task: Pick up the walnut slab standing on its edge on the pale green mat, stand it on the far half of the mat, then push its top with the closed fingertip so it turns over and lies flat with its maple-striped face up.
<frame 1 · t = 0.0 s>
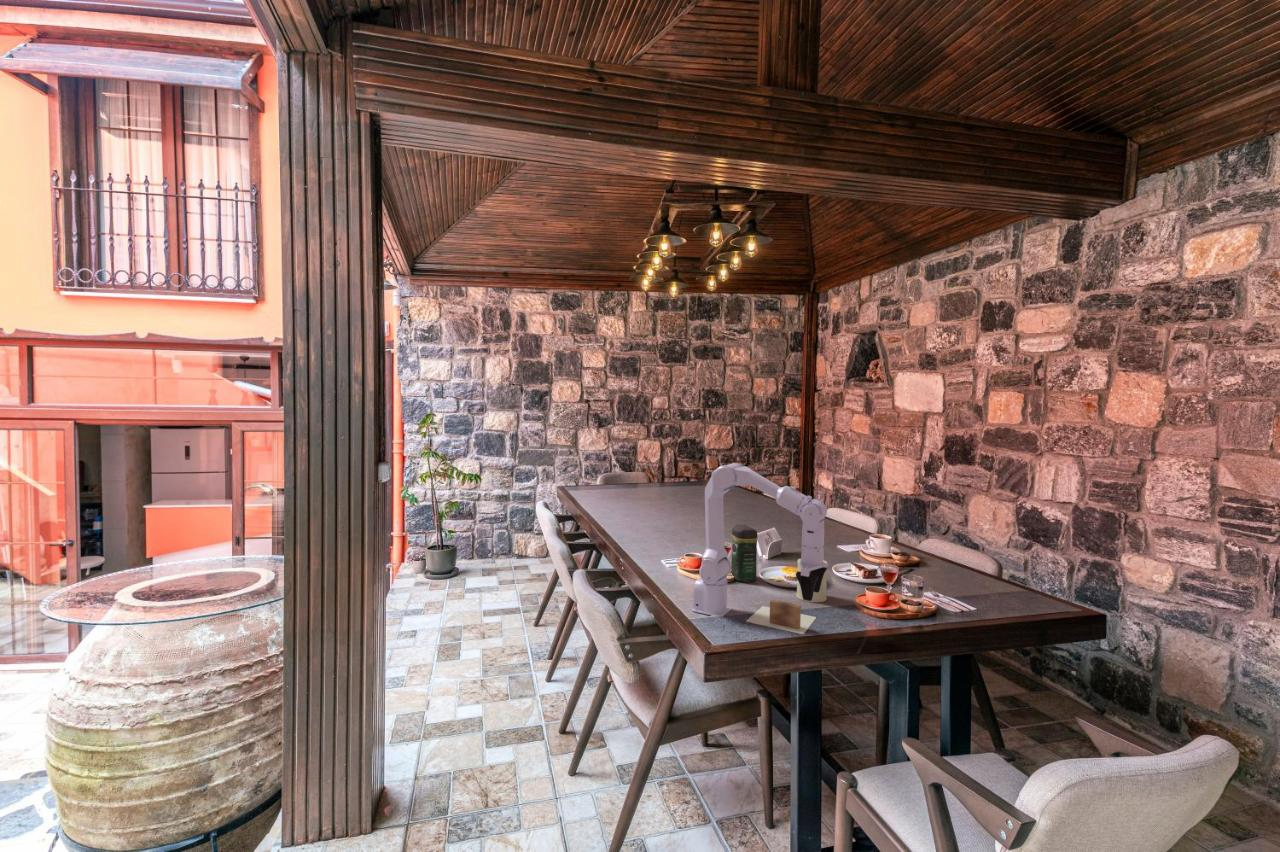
hand: (811, 595, 153), 10 cm above the table, tool pointing down, fingers open, 7 cm apart
walnut slab: (784, 624, 157), point 1 cm above the table, touching mat
can: (811, 598, 181), on the table
coffee jar: (743, 579, 199), on the table
mat: (781, 621, 161), on the table
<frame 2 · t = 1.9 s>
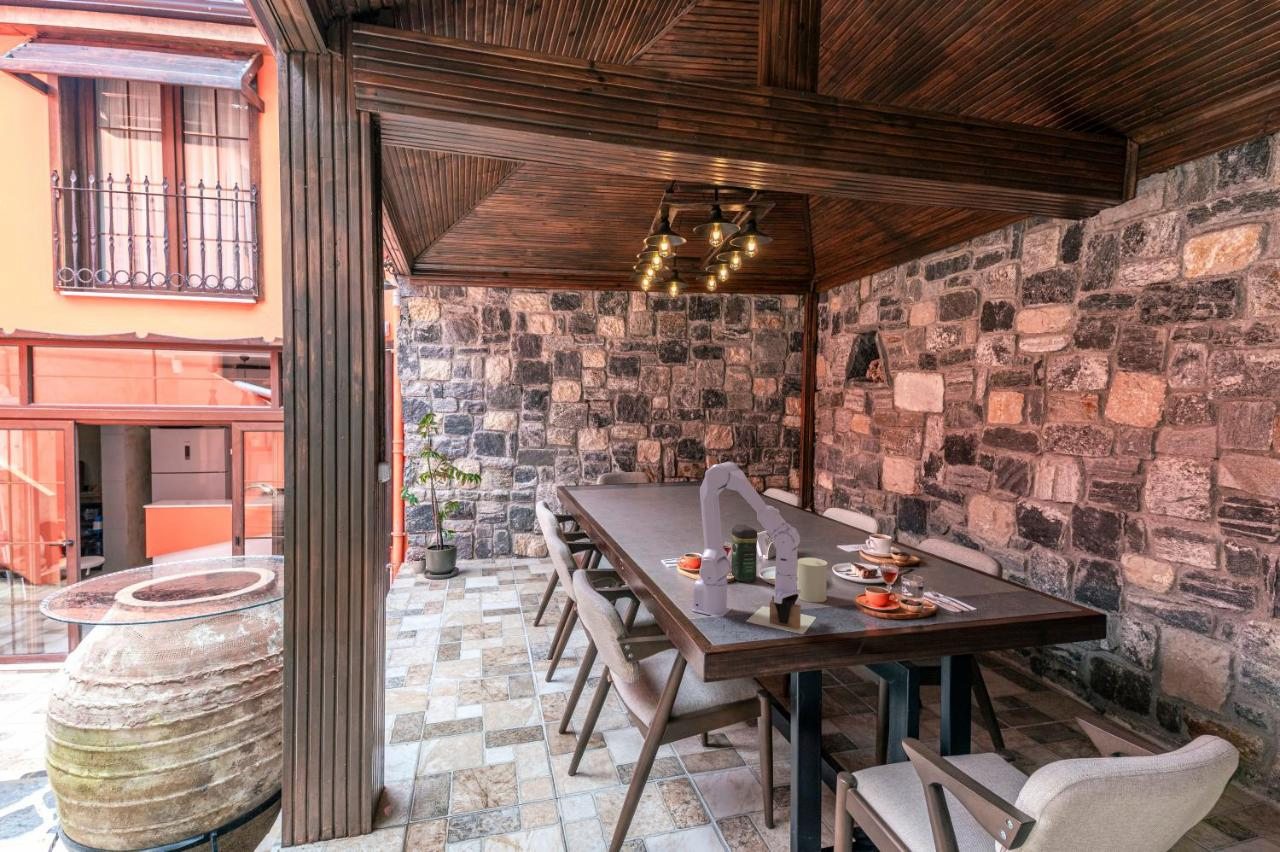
hand: (784, 621, 157), 2 cm above the table, tool pointing down, fingers closed on walnut slab, 2 cm apart
walnut slab: (784, 624, 157), point 1 cm above the table, touching gripper, mat
everything else where it was.
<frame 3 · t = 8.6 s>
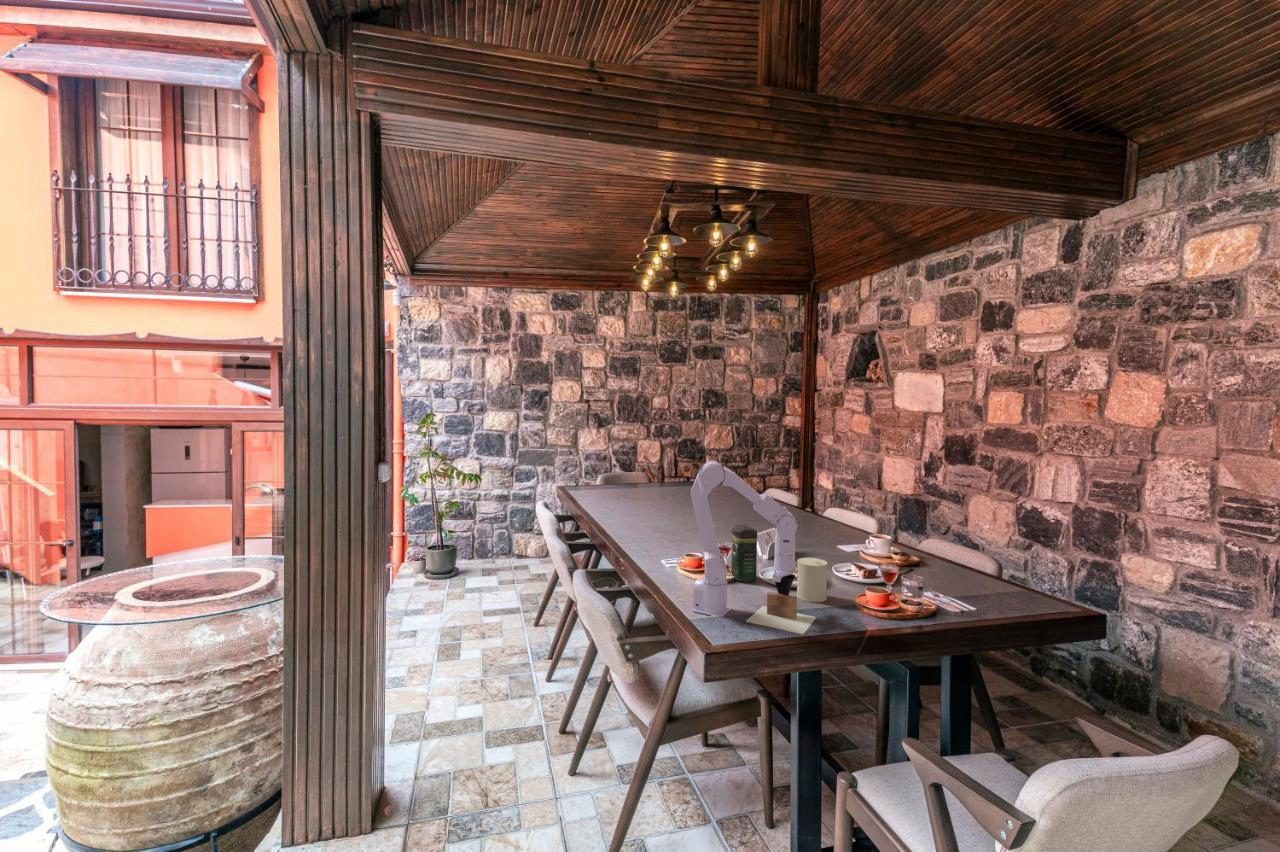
hand: (783, 599, 165), 5 cm above the table, tool pointing down, fingers closed
walnut slab: (781, 615, 164), point 1 cm above the table, touching gripper, mat
everything else where it was.
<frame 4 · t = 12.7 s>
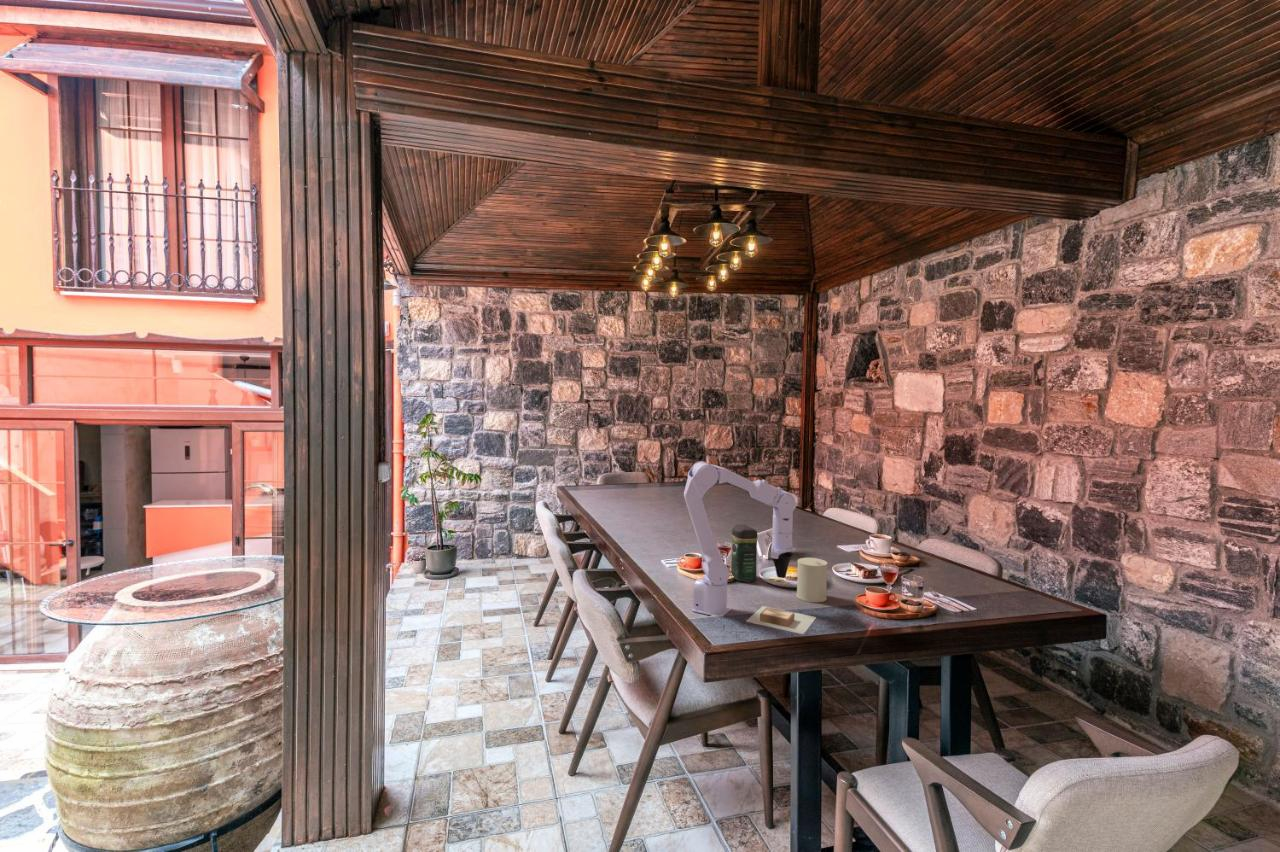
hand: (781, 577, 169), 10 cm above the table, tool pointing down, fingers closed
walnut slab: (780, 613, 163), point 2 cm above the table, tilted 90°, touching mat
everything else where it was.
at the end: walnut slab tilted 90°; walnut slab inside the target area (1.6 cm from its centre), point 1.6 cm above the table; the gripper is holding nothing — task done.
